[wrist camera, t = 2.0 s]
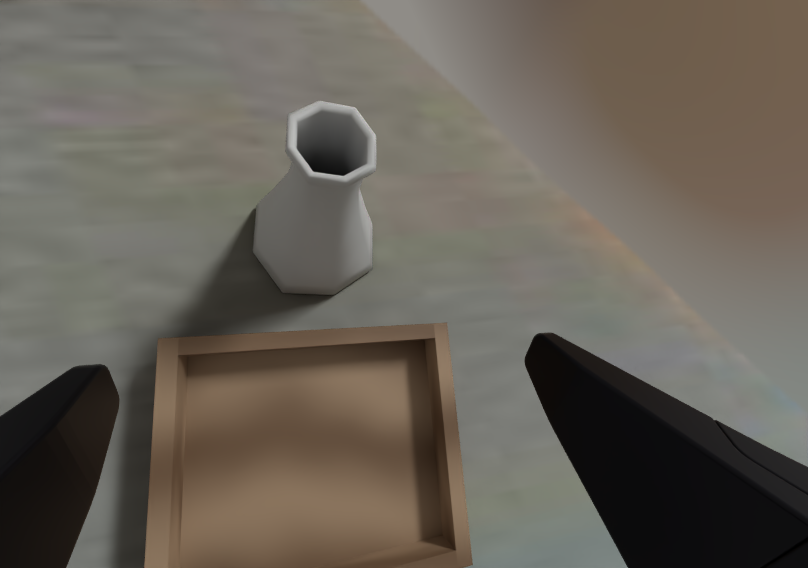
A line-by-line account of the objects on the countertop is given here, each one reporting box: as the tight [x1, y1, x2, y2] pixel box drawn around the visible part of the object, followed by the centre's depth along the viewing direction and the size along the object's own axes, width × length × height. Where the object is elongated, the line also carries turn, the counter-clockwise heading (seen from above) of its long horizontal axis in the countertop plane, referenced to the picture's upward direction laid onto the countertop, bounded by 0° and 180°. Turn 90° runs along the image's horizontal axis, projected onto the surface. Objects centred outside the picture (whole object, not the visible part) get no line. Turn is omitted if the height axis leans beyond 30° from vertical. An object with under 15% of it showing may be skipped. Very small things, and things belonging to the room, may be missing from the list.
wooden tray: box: [144, 323, 473, 568], centre depth 18 cm, size 12×14×2 cm
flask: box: [253, 101, 376, 295], centre depth 17 cm, size 7×7×10 cm
